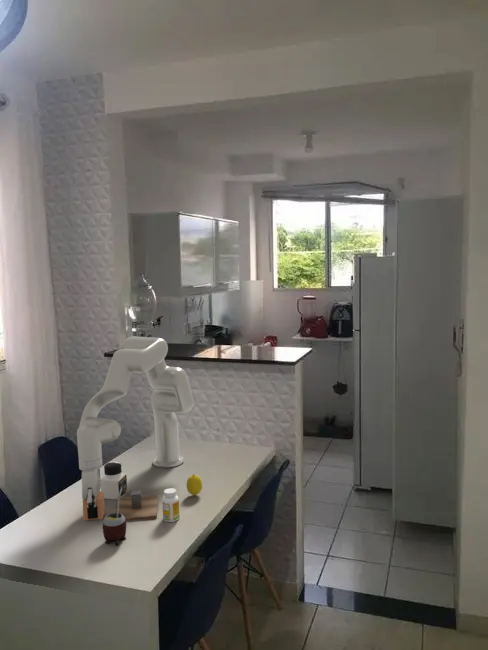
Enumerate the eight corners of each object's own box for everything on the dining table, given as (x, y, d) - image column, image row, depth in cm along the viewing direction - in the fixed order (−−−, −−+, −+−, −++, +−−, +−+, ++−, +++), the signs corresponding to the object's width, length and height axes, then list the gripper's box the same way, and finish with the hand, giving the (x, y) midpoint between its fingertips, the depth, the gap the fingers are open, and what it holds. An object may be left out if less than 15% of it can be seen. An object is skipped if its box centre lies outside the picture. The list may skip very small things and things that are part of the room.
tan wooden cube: (86, 511, 193) (85, 492, 192) (104, 510, 193) (103, 491, 192) (84, 520, 187) (82, 500, 186) (102, 518, 188) (101, 498, 187)
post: (132, 504, 195) (132, 491, 194) (141, 504, 195) (140, 490, 194) (132, 508, 192) (131, 494, 191) (141, 508, 192) (140, 494, 192)
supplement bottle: (179, 513, 189) (177, 486, 188) (180, 521, 184) (178, 493, 183) (162, 515, 188) (161, 488, 187) (163, 523, 183) (162, 495, 182)
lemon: (183, 496, 203) (182, 475, 202) (195, 491, 207) (194, 470, 206) (194, 500, 199) (193, 478, 198) (205, 495, 203) (204, 474, 202)
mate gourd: (106, 549, 168) (102, 501, 166) (101, 537, 176) (98, 491, 173) (130, 543, 171) (127, 496, 169) (125, 531, 178) (122, 486, 176)
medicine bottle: (119, 499, 201) (117, 467, 200) (101, 498, 203) (98, 466, 201) (127, 491, 208) (125, 460, 207) (109, 490, 210) (107, 459, 208)
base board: (118, 500, 201) (118, 497, 201) (158, 497, 202) (158, 494, 202) (113, 522, 185) (113, 519, 185) (156, 518, 187) (156, 515, 186)
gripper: (83, 453, 196) (87, 503, 198) (74, 473, 179) (78, 527, 181) (105, 452, 196) (108, 501, 199) (98, 471, 179) (102, 525, 182)
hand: (94, 513), depth 190 cm, fingers closed on tan wooden cube, 5 cm apart
